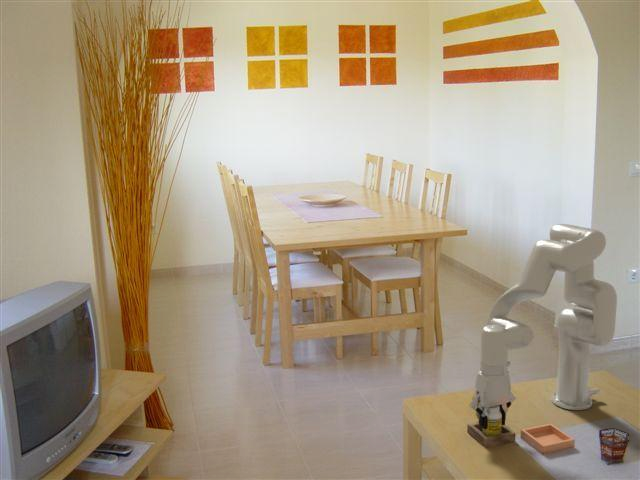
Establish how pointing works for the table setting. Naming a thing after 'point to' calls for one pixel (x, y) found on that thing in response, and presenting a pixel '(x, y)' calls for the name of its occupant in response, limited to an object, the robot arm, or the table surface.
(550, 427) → the dish
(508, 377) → the robot arm
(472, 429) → the tray
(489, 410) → the supplement bottle
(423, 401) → the table surface
